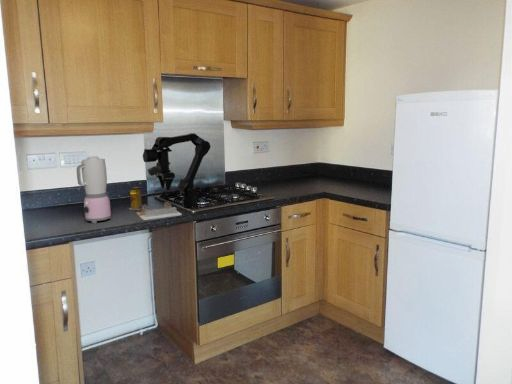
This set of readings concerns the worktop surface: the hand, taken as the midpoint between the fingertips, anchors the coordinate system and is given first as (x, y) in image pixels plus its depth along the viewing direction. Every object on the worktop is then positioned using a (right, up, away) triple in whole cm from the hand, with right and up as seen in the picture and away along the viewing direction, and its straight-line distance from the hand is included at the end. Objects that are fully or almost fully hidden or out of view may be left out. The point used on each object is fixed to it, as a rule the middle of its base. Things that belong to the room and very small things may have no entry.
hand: (165, 189), depth 231 cm
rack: (-4, -13, -3) cm, 14 cm away
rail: (0, -13, -9) cm, 16 cm away
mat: (0, -14, -9) cm, 17 cm away
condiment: (-18, -11, +10) cm, 23 cm away
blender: (-31, -16, -17) cm, 39 cm away
